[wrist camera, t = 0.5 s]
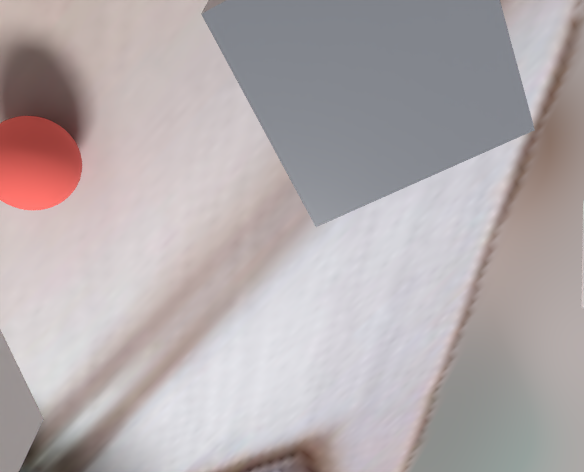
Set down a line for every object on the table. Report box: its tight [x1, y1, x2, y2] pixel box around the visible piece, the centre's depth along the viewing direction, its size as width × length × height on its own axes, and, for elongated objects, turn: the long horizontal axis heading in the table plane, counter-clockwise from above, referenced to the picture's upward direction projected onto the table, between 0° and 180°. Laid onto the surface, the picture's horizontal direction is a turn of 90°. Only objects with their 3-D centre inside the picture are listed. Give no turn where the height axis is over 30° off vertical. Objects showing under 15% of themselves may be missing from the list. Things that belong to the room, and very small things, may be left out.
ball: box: [0, 116, 82, 210], centre depth 30 cm, size 5×5×5 cm
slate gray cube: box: [202, 0, 534, 227], centre depth 26 cm, size 10×10×9 cm
